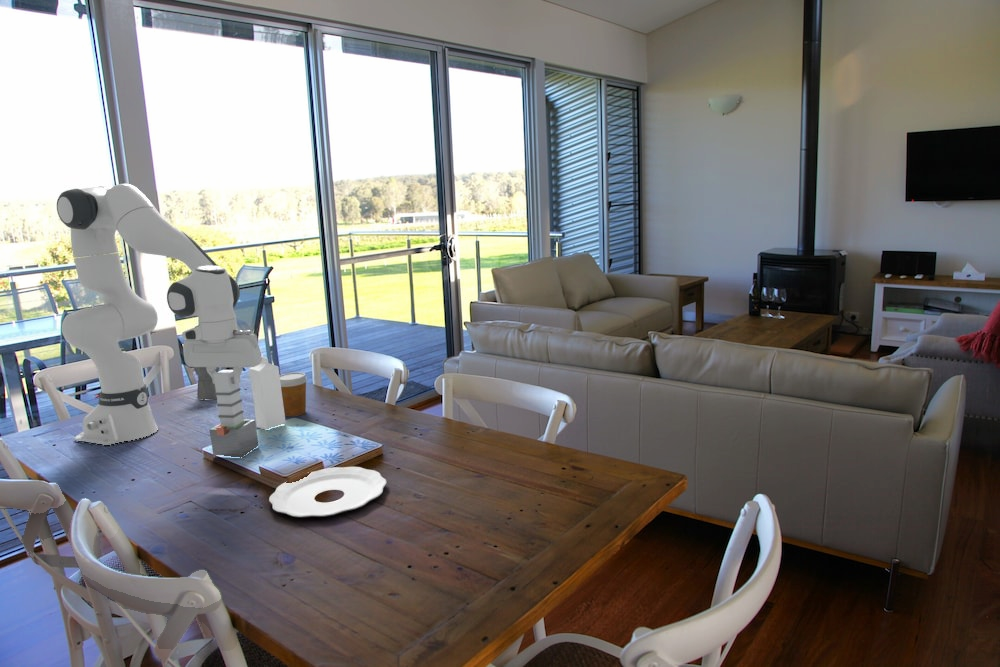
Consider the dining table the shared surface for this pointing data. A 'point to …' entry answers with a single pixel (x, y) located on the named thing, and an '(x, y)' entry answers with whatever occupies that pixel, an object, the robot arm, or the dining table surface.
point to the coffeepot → (205, 383)
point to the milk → (267, 395)
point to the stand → (234, 439)
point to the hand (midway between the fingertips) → (226, 383)
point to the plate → (301, 493)
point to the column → (228, 400)
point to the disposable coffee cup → (293, 393)
